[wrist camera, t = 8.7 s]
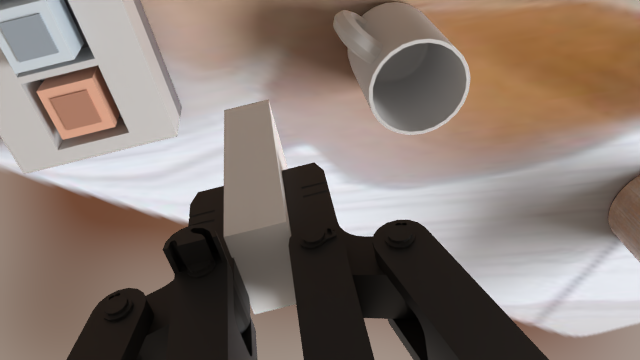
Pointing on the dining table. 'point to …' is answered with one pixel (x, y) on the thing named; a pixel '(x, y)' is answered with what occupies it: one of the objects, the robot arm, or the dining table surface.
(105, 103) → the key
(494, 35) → the dining table surface
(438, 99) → the cup
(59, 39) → the key mid
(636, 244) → the planter
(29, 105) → the keypad
